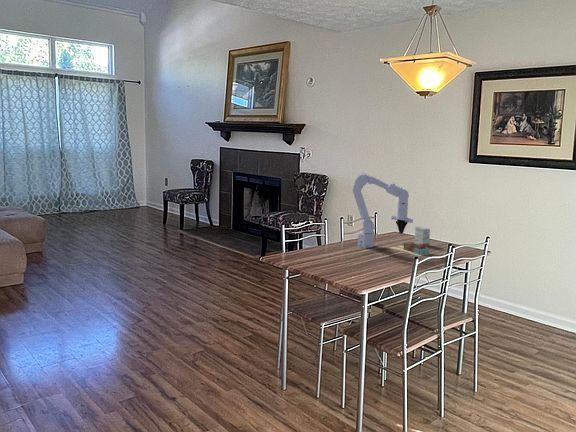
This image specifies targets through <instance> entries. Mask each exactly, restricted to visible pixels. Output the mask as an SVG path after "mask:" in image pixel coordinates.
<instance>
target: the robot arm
mask: <svg viewBox="0 0 576 432" xmlns="http://www.w3.org/2000/svg"><path fill="white" fill-rule="evenodd" d="M366 185H375V186H378V187H380V188H382V189H385V191H386V193H387V194H389V195H392V196H394V197H398V202H397V210H396V211H397V213H396V215H391V220H396V221H395V224H396V225H397V230H398V233H399V234H404V231H405V229H406V227H407V225H408V223H409V224H412V223H414V219H413V218H409V217H408V211H409V209H408V208H409V207H408V206H409V197H410V195H409V192H408V190H407V189H406V188H403V187H400V186H398V185H396V183H394V182H393V183H389V184H388V183H386V182H384V181H383V180H380V179H378V178H377V177H375V176H373V175H369V174H366V173H363V172H361V173H360V174H359V175H358V176H357V178H356V179H355V180H354V185H353V187H352V194H353V196H354V200H355V203H356V205H357V209H358V212H359V214H360V218H361V223H362V231H361V233H360V234H358V237H357V247H359V248H363V249H367V248H373V247H375V231H374V230H375V224H374V222H373V221H372V218H371V216H370V215H369V212H368V208H367V205H366V202H365V200H364V199H365V198H364V196H363V193H362V190H363V188H364V187H365V186H366Z"/></svg>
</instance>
